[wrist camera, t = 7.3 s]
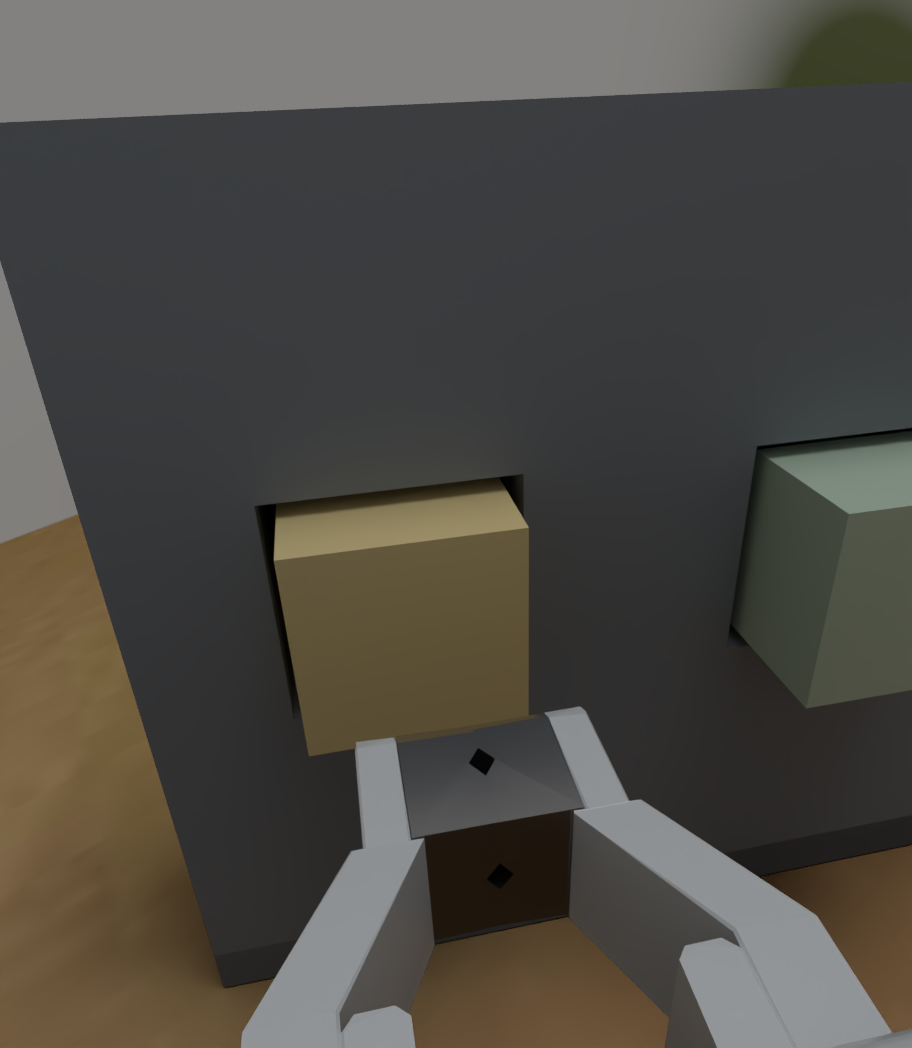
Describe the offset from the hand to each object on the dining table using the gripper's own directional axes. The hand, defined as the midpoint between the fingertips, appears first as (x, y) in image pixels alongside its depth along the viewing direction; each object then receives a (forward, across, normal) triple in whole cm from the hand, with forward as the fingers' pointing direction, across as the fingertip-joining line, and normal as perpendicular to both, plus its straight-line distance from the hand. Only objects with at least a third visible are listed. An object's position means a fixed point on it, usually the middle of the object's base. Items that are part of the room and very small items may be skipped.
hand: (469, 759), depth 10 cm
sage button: (+4, +9, -2) cm, 10 cm away
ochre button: (+4, 0, -2) cm, 5 cm away
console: (+7, +8, -11) cm, 15 cm away
